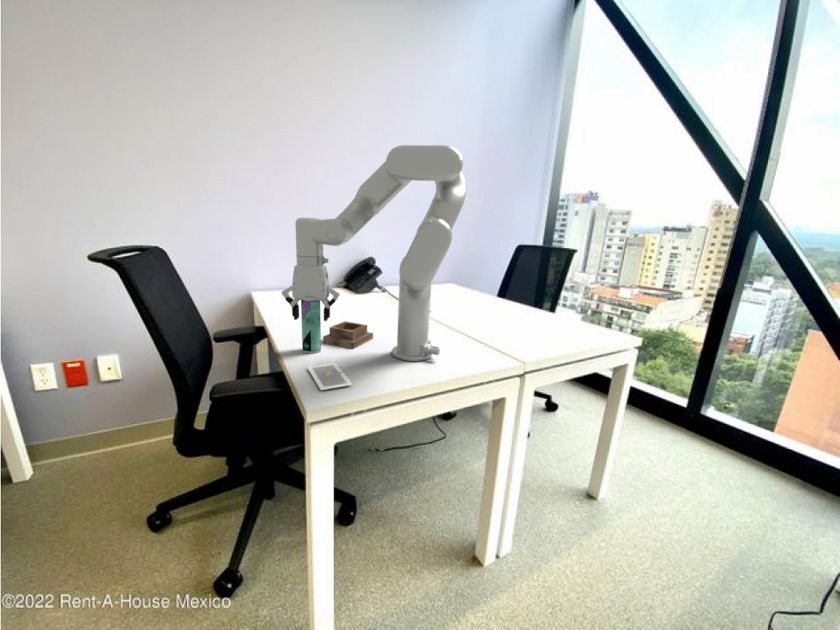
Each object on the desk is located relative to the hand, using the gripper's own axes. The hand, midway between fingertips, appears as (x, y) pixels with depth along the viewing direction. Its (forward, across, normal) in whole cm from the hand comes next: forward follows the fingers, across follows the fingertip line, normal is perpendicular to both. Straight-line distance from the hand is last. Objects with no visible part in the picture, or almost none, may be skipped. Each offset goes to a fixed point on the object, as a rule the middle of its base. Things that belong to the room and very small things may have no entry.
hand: (311, 319), depth 113 cm
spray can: (+10, 0, 0) cm, 10 cm away
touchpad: (+11, -9, +19) cm, 24 cm away
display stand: (+10, -10, -11) cm, 18 cm away
